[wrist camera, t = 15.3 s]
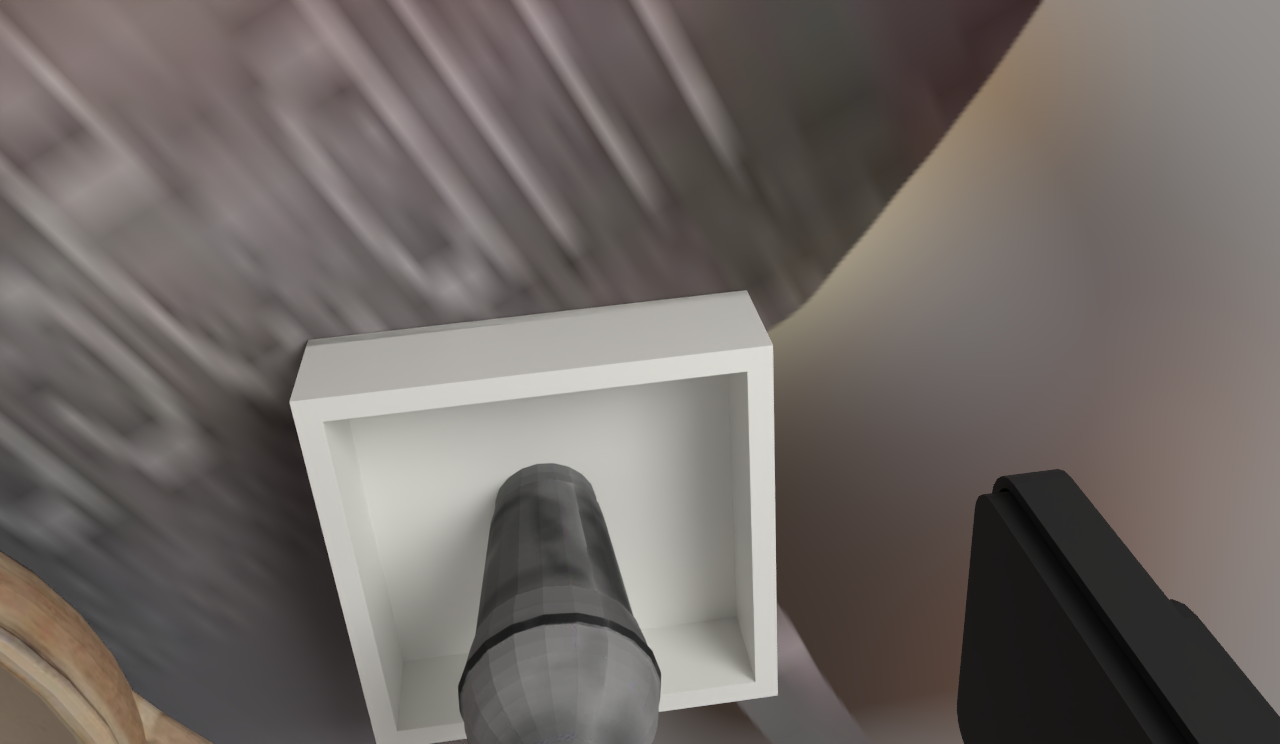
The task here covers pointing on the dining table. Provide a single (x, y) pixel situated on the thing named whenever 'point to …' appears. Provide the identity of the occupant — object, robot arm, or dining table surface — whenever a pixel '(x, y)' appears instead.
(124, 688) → the ceramic bowl
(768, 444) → the white bin
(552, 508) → the beverage cup
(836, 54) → the dining table surface
